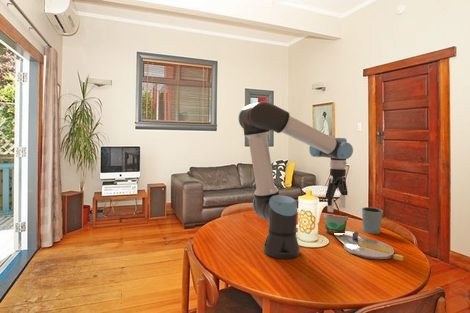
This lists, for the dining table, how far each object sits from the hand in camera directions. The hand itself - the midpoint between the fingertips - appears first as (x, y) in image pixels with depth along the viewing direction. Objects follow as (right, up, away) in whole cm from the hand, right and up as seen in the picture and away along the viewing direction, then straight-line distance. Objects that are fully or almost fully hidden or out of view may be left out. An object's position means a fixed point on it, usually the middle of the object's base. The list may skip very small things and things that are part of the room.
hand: (336, 209), depth 148 cm
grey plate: (+7, -14, -20) cm, 26 cm away
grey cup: (+21, -13, +7) cm, 26 cm away
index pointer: (+15, -15, -29) cm, 36 cm away
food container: (-1, -13, +1) cm, 13 cm away
